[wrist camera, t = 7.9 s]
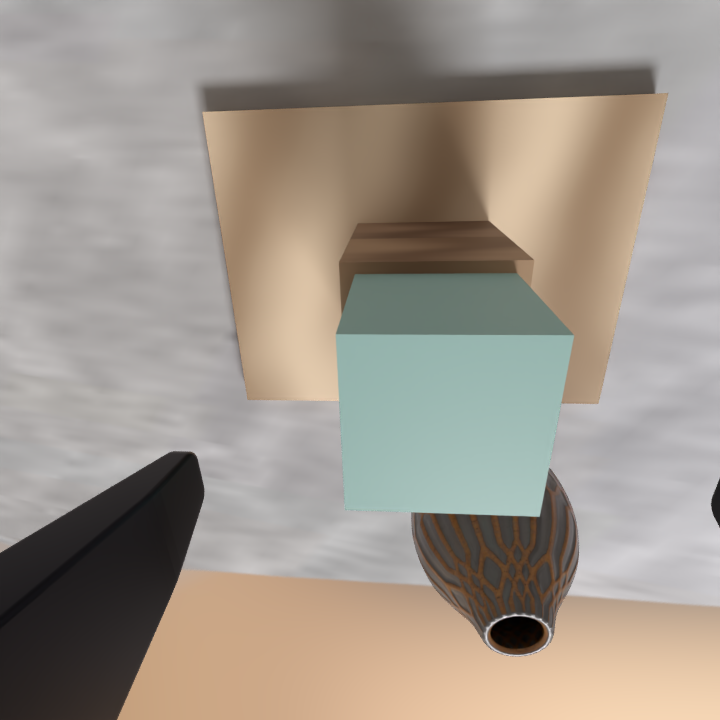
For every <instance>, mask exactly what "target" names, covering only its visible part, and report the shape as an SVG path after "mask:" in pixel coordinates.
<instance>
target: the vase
mask: <svg viewBox="0 0 720 720" xmlns="http://www.w3.org/2000/svg"><path fill="white" fill-rule="evenodd" d="M411 522H412V534H413V540H414V544H415V548H416V551H417V554H418V557H419V560H420V562H421V565H422V567H423V569H424V571H425V573H426V575H427V577H428V579H429V580H430V582H431V584H432V585H433V587H434V588H435V589H436V591H437V592H438V593H439V594H440V595H441V596H442V597H443V599H444V600H446V601H447V602H448V603H449V604H450V605H451V606H452V607H453V608H454V609H455V610H456V611H458V612H459V613H460V614H461V615H462V616H463V617H465V618H466V619H467V620H468V621H469V622H470V623H471V624H472V625H473V626H474V627H475V629H476V630H477V632H478V634H479V635H480V637H481V638H482V640H483V642H484V643H485V644H486V645H487V646H488V647H489V648H490V649H491V650H493V651H495V652H497V653H500V654H503V655H507V656H527V655H531V654H534V653H537V652H539V651H541V650H543V649H544V648H545V647H547V646H548V644H549V643H550V642H551V640H552V638H553V635H554V628H555V620H556V615H557V612H558V610H559V608H560V606H561V604H562V602H563V600H564V599H565V597H566V595H567V593H568V591H569V589H570V587H571V584H572V582H573V580H574V577H575V574H576V570H577V565H578V558H579V539H578V530H577V523H576V519H575V515H574V511H573V508H572V506H571V503H570V501H569V499H568V496H567V494H566V493H565V491H564V489H563V487H562V485H561V483H560V482H559V480H558V479H557V477H556V476H555V474H554V473H553V472H552V470H551V469H550V468H549V470H548V476H547V481H546V486H545V491H544V497H543V502H542V507H541V512H540V517H534V516H504V515H475V514H446V513H417V512H411Z"/></svg>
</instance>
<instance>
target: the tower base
mask: <svg viewBox="0 0 720 720" xmlns="http://www.w3.org/2000/svg"><path fill="white" fill-rule="evenodd" d="M505 236H506V235H505V234H504V233H503V232H501V231H500V230H499V229H498V228H497V227H496V226H494V225H493V224H492V223H491V222H490V221H452V222H401V223H358V224H357V226H356V228H355V230H354V232H353V234H352V236H351V239H388V238H447V237H505Z"/></svg>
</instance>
